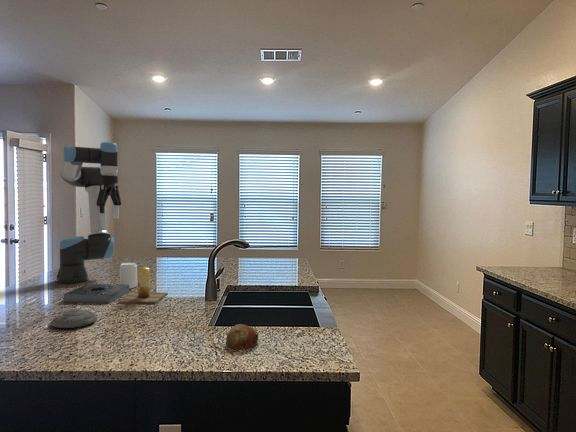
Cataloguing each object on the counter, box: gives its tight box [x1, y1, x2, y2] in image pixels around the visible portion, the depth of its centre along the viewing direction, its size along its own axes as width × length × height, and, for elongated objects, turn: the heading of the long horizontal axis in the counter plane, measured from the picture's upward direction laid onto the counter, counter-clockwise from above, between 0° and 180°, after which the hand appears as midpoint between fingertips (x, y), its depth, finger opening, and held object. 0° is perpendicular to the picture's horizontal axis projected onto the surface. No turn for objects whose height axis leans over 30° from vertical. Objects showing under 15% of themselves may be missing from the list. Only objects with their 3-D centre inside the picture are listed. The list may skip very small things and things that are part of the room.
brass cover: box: [137, 266, 151, 298], centre depth 178 cm, size 5×5×13 cm
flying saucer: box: [50, 308, 98, 329], centre depth 144 cm, size 15×15×6 cm
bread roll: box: [225, 323, 259, 350], centre depth 127 cm, size 10×10×8 cm
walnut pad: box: [118, 291, 169, 305], centre depth 178 cm, size 16×16×1 cm
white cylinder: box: [119, 262, 138, 290], centre depth 199 cm, size 8×8×12 cm
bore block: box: [62, 283, 130, 304], centre depth 181 cm, size 20×20×4 cm
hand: (109, 219), depth 191 cm, fingers open, 13 cm apart
